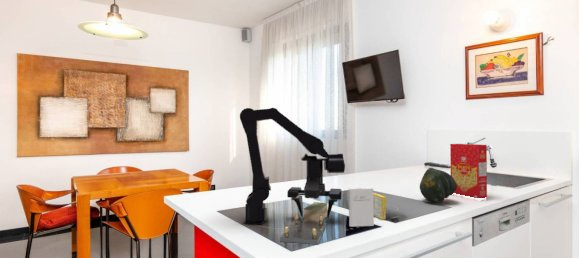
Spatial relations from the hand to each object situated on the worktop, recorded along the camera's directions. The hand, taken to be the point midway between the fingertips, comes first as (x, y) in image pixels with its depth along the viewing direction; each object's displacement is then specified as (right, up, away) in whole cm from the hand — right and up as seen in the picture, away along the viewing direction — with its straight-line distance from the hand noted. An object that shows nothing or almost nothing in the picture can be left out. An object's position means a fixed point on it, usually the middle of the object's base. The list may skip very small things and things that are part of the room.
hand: (314, 217), depth 115 cm
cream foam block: (+1, -2, +3) cm, 3 cm away
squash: (+56, -1, +28) cm, 62 cm away
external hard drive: (+15, -1, -6) cm, 16 cm away
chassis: (-4, -1, -13) cm, 14 cm away
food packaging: (+75, -1, +38) cm, 84 cm away
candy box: (+23, -2, +9) cm, 24 cm away
